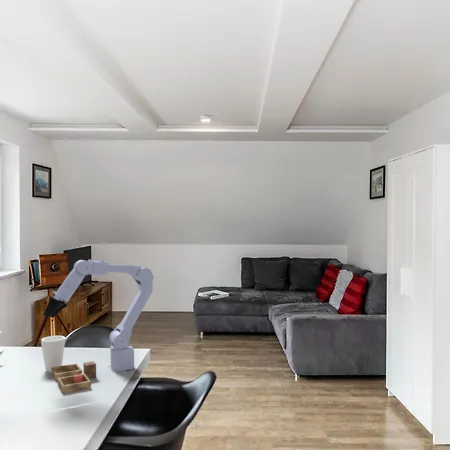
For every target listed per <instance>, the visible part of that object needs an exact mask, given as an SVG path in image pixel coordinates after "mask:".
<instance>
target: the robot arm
mask: <svg viewBox="0 0 450 450" xmlns="http://www.w3.org/2000/svg"><path fill="white" fill-rule="evenodd" d="M108 273H121V274H122V273H123V274H125V273H126V274H128V275H129V276H132V278H133V280H134V281H135V283H136V284H137V287H138V292H137V294H136V295H135V296H134V299H133V301H132V302H131V304H130V305H129V308H128V310H127V311H126V313H125V315H124V317H123V319H122V320H121V322H120V323H119V324H117V325H116V327H115V329H113V330H112V331H110V334H109V337H108V338H109V342H110V343H111V344H110V365H108V366H107V368H108V369H109V370H110V371H111V372H113V373H114V372H115V373H116V372H121V371H130V370H134V369H136V367H135V351H134V350H135V349H134V347H133V345H130V346H129V344H130V339H131V336H132V330H133V327H134V325H135V324H136V322H137V320H138V319H139V316H140V315H141V313H142V311H143V310H144V308H145V306H146V304H147V302H148V300H149V298H150V297H151V295H152V292H153V283H154V282H153V281H154V278H155V277H154V275H153V272H152V270H151V269H150V268H148V267H144V266H140V265H134V264H110V263H108V262H107V260H104V259H100V260H92V259H88V260H84V259H80V260H77V261H76V262H74V264H73V269H72V270H70V272H69V273H68V275H67V276H66V278H65V279H64V280H63V282H62V283H61V285H60V286H59V288H58V289H57V291H55V290H53V291H52V293H53V294H54V296H51V295H50V296H49V297H48V303H47V306H46V308H45V310H44V313H43V315H44V316H45V317H46V318H51V319H54V318H55V317H56V316H57V315H58V314H59V313H60V312H61V311H63V310H64V309H65V308H68V306H69V304H67V303H68V302H69V301H70V299H71V297H72V296H73V294H74V293H75V292H76V290H77V289H78V287H80V285H81V283H82V282H83V279H84V278H85V277H86V276H88V275H89V276H90V275H91V276H94V275H95V276H106V275H107V274H108Z"/></svg>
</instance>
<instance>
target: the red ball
mask: <svg viewBox="0 0 450 450" xmlns="http://www.w3.org/2000/svg"><path fill="white" fill-rule="evenodd" d="M82 381H83V377H82V375H76V376H75V377H74V382H75V383H81V382H82Z"/></svg>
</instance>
